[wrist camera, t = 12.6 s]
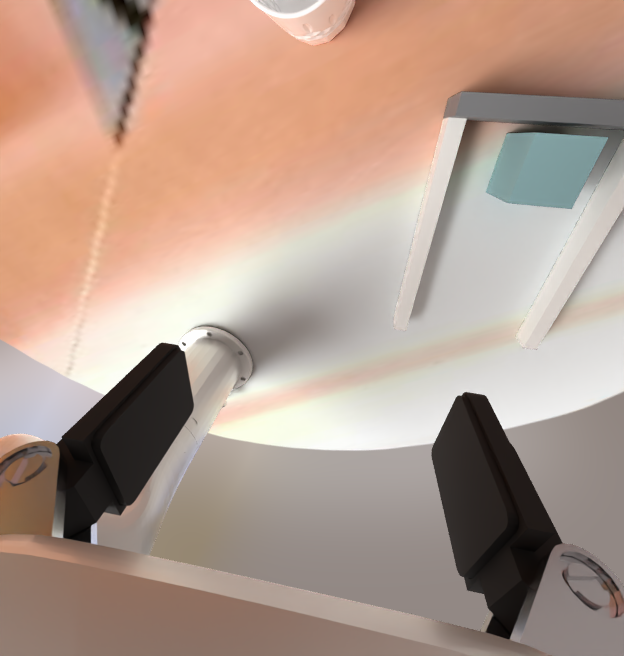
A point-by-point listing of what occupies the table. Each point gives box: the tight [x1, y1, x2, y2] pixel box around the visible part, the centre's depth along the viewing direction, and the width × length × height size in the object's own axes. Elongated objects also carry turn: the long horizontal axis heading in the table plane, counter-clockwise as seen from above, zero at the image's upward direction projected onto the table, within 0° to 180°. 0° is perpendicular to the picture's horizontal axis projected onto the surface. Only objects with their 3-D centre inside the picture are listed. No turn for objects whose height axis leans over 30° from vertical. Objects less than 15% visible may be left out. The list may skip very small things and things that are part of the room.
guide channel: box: [393, 92, 624, 350], centre depth 30 cm, size 24×17×5 cm
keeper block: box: [486, 133, 609, 209], centre depth 26 cm, size 5×5×6 cm
